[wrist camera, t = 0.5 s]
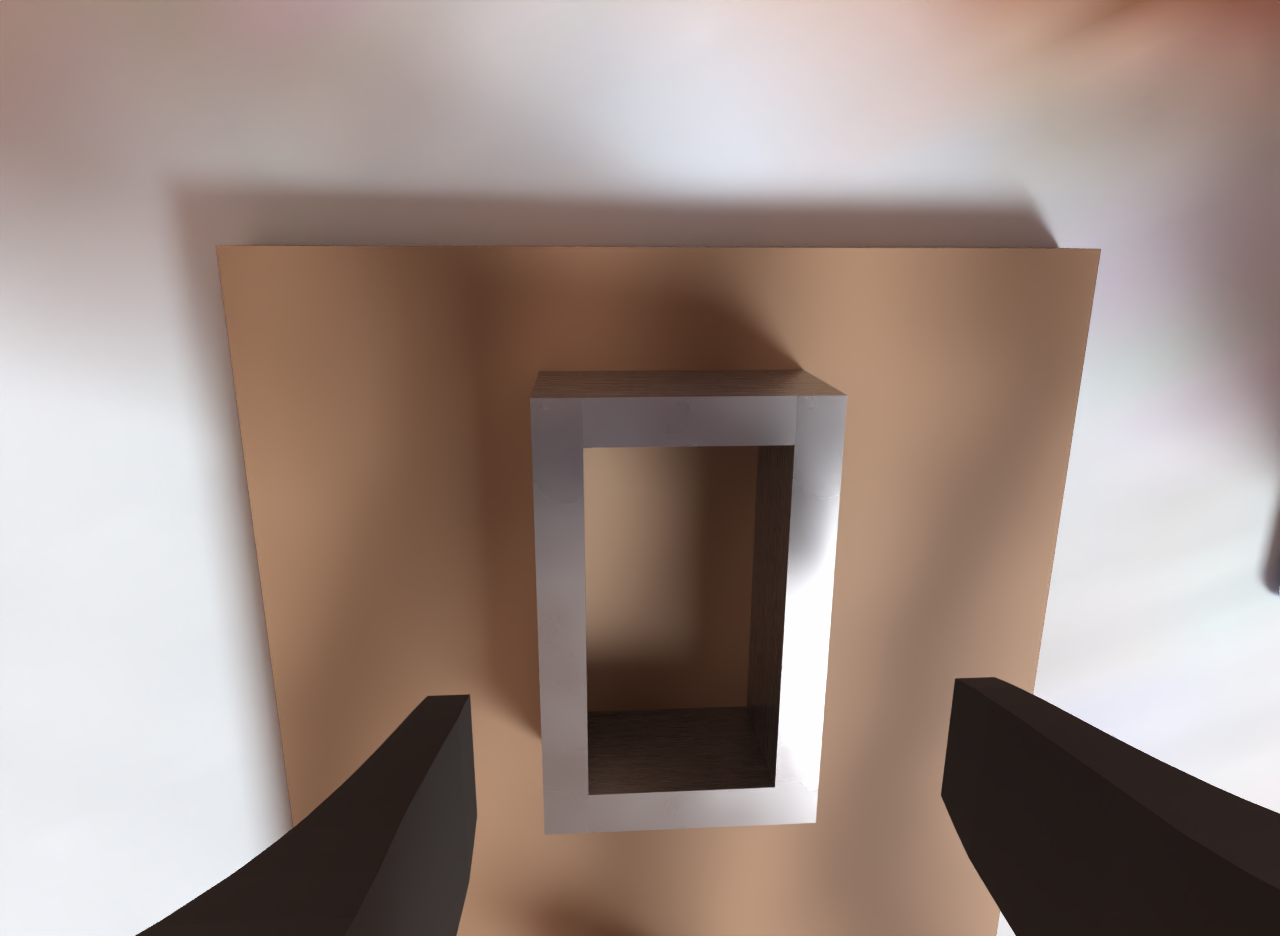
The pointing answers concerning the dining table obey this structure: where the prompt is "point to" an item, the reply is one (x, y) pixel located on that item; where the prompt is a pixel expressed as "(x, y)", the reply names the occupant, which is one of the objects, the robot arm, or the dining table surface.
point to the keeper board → (656, 543)
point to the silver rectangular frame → (780, 603)
